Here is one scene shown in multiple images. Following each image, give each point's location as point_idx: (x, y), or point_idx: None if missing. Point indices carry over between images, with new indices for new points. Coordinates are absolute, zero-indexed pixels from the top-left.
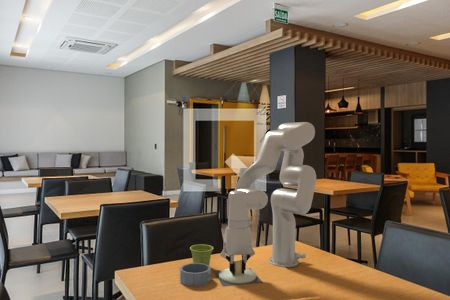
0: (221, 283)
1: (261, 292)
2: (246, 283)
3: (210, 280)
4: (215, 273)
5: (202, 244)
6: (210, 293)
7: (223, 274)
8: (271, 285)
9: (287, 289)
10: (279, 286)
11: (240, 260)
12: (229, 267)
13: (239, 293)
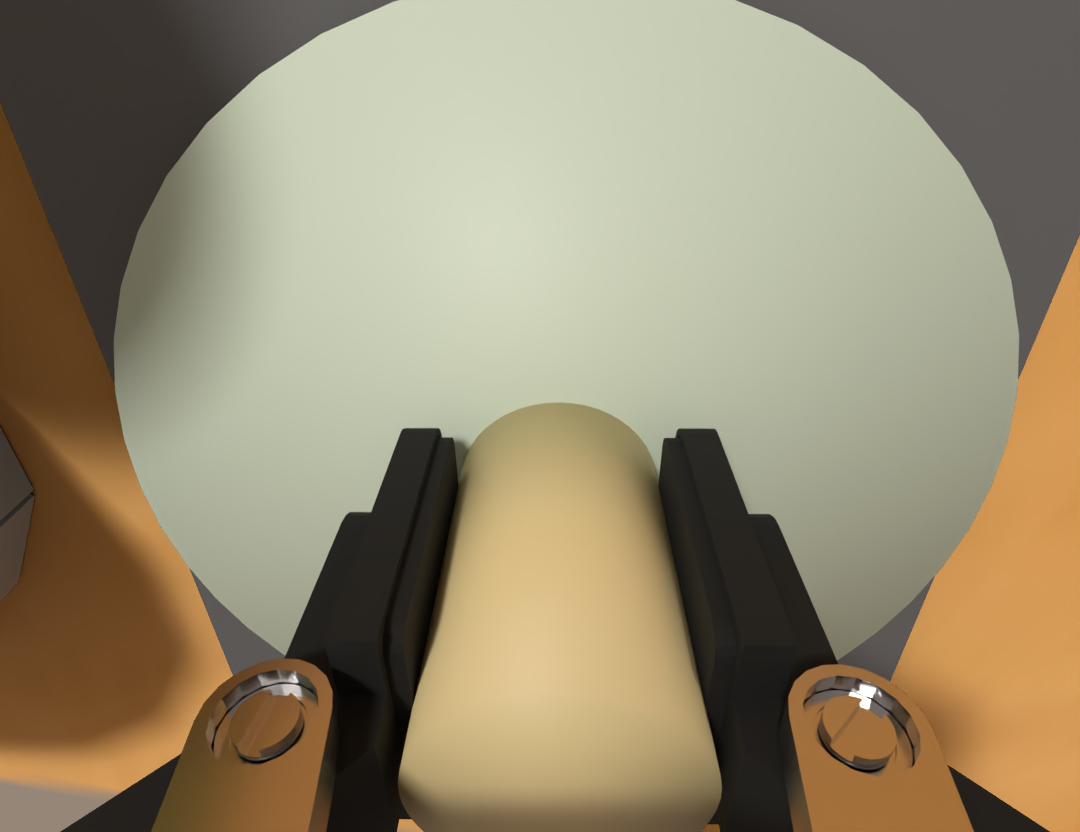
0: (223, 642)
1: (706, 827)
2: None
3: (8, 532)
4: (35, 163)
5: None
6: (106, 763)
7: (232, 456)
8: (949, 731)
9: (1045, 825)
10: (1025, 764)
11: (673, 791)
12: (329, 554)
13: None
